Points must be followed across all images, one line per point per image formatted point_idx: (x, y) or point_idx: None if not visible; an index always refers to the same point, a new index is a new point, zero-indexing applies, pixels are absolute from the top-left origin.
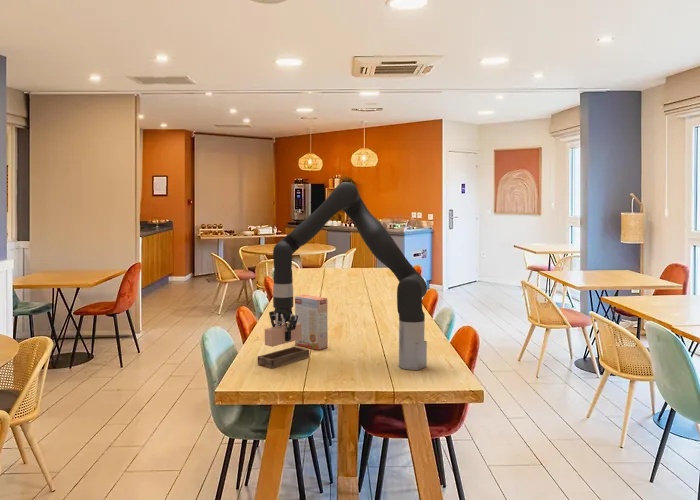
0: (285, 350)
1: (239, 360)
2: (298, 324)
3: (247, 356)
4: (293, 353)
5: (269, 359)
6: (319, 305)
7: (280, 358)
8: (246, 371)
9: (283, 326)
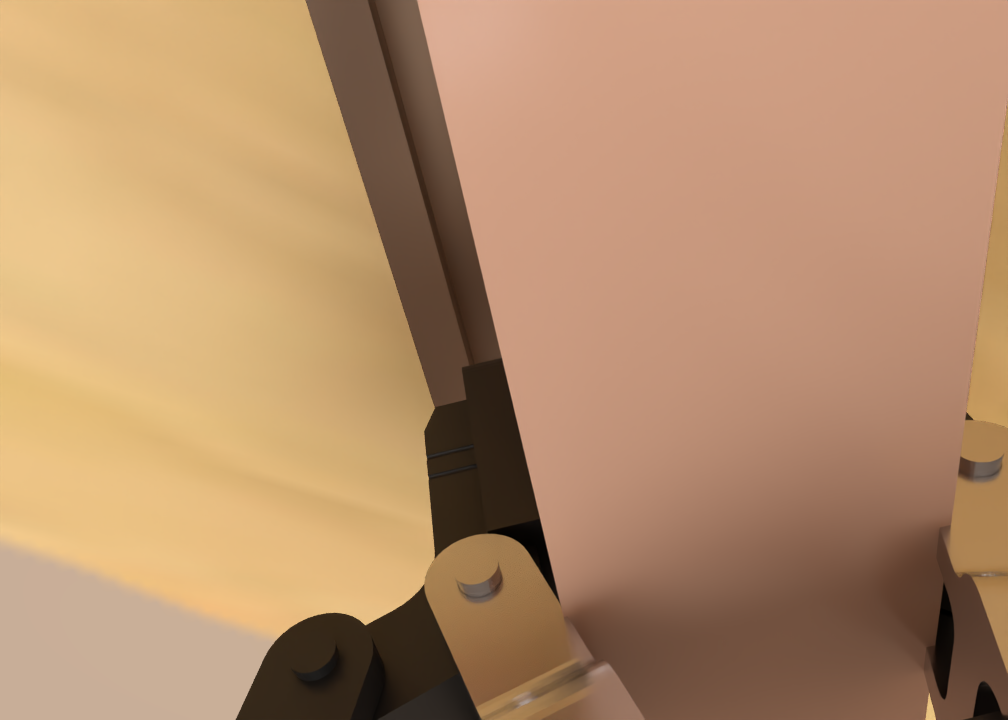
0: (394, 88)
1: (175, 599)
2: (1002, 63)
3: (14, 480)
4: None
5: None
6: None
7: None
8: None
9: (774, 650)
